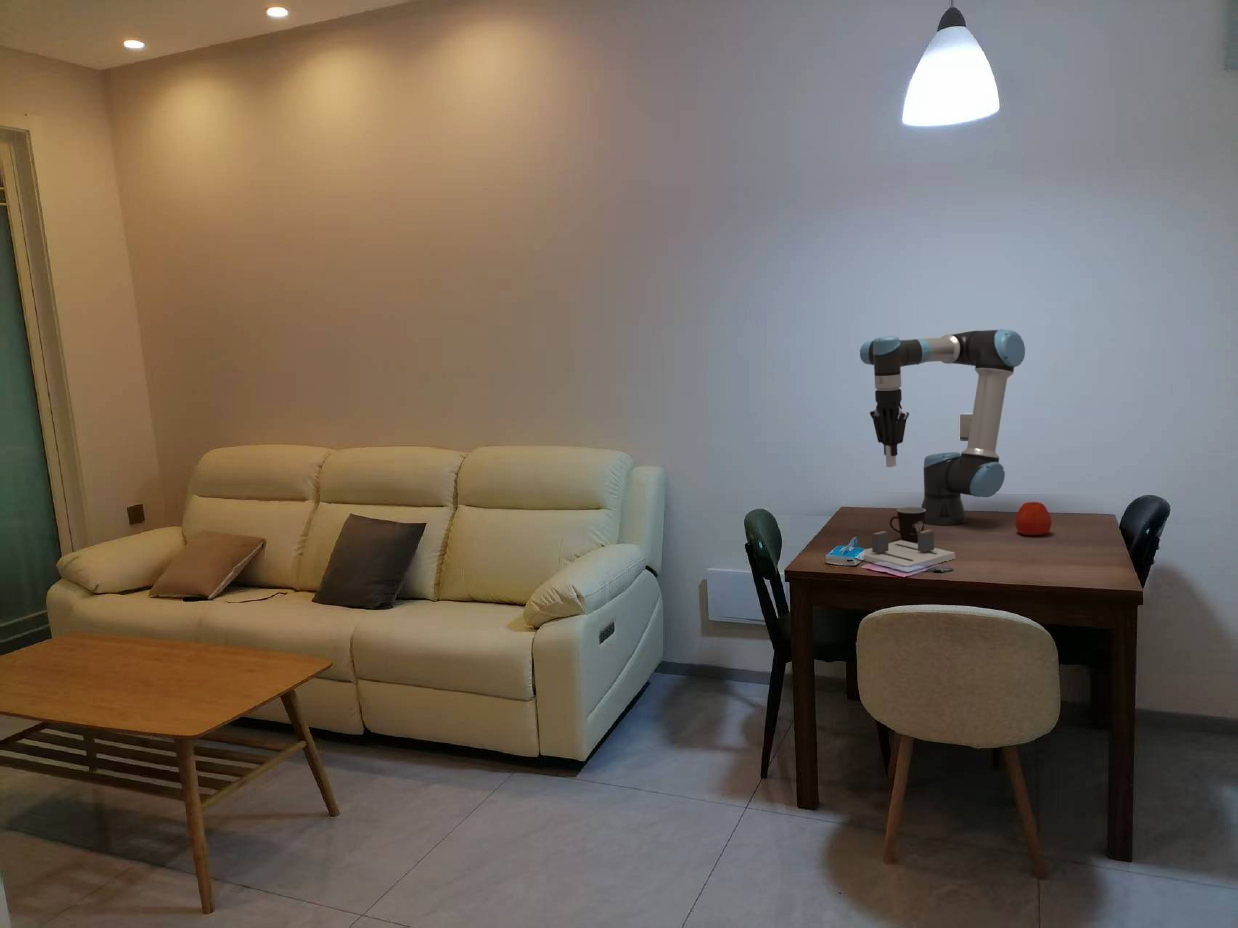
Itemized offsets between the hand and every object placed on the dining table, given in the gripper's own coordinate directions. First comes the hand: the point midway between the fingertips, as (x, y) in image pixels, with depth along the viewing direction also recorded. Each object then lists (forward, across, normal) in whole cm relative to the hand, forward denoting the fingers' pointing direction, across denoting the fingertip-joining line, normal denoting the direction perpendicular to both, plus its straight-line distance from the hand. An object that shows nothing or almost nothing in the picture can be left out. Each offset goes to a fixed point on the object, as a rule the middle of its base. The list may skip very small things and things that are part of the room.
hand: (891, 466), depth 267 cm
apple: (+27, +20, +40) cm, 53 cm away
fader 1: (+23, +6, -13) cm, 27 cm away
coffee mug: (+26, -2, +8) cm, 27 cm away
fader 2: (+23, +14, -3) cm, 27 cm away
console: (+25, +10, -8) cm, 29 cm away
